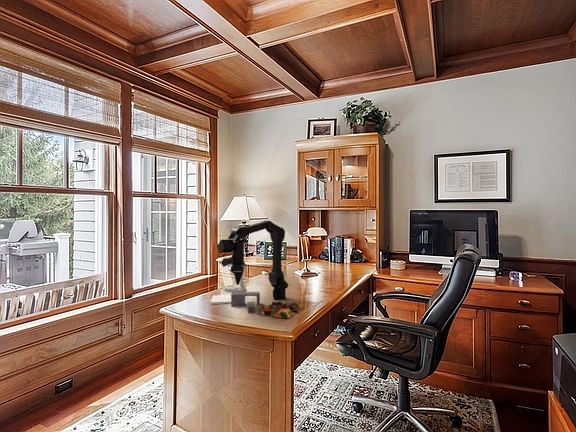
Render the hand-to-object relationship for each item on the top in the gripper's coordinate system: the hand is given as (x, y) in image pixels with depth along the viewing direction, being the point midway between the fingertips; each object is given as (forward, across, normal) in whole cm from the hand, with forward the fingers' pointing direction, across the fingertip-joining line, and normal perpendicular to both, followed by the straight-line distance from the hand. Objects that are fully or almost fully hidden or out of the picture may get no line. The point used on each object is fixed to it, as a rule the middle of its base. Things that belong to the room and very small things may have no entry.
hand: (238, 282), depth 176 cm
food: (+13, +9, +21) cm, 27 cm away
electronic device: (+13, -33, -4) cm, 35 cm away
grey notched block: (+12, -4, +4) cm, 13 cm away
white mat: (+12, -14, -9) cm, 20 cm away
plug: (+12, +5, +7) cm, 15 cm away
